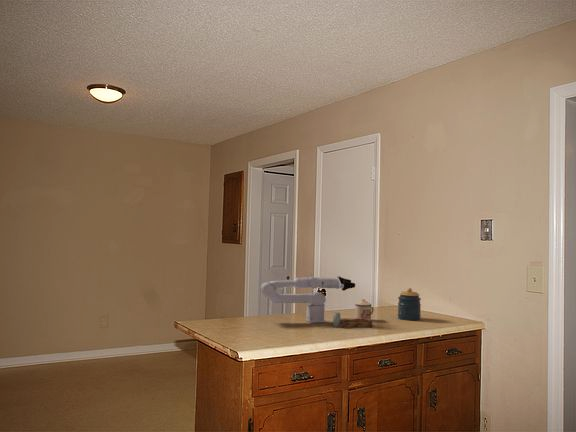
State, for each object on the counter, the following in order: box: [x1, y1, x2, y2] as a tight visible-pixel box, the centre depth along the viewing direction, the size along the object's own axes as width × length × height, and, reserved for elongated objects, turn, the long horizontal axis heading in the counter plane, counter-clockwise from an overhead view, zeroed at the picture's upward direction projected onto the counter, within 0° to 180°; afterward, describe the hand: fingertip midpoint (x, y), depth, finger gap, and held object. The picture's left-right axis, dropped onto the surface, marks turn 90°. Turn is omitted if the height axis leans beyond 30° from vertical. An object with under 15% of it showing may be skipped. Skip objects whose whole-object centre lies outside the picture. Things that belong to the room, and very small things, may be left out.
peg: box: [332, 312, 341, 328], centre depth 251 cm, size 3×3×7 cm
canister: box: [397, 287, 422, 321], centre depth 282 cm, size 13×13×18 cm
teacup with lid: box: [354, 298, 375, 321], centre depth 274 cm, size 12×9×12 cm
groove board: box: [340, 317, 373, 329], centre depth 256 cm, size 16×12×2 cm
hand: (352, 283), depth 268 cm, fingers open, 7 cm apart
